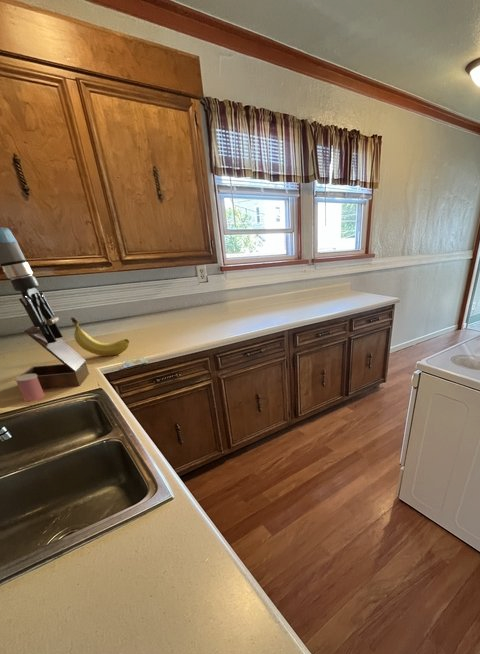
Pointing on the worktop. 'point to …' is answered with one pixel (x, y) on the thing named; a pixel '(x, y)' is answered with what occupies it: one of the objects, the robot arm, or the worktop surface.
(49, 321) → the lid
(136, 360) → the baking ingredient package
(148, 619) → the worktop surface
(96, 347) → the banana
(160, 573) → the worktop surface
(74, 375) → the brown wooden box
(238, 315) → the worktop surface
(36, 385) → the liner stack
